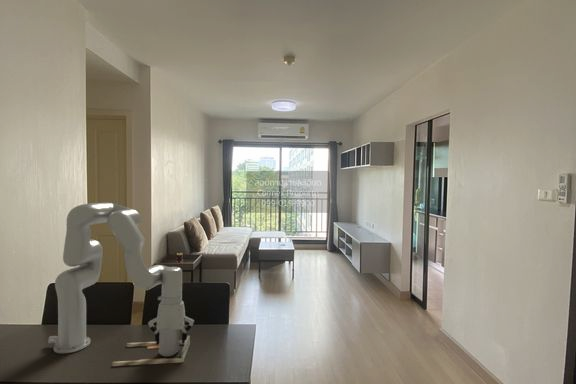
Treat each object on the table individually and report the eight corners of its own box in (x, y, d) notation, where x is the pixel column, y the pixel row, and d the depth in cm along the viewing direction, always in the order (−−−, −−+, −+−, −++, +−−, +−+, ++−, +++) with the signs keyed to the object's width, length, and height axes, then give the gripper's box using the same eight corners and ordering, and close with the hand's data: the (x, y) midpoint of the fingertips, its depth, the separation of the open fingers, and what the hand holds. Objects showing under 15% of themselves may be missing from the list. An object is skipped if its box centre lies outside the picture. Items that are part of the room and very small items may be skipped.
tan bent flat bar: (112, 366, 118) (112, 356, 118) (127, 345, 133) (127, 337, 133) (183, 362, 121) (183, 353, 121) (190, 343, 136) (190, 334, 136)
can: (181, 348, 132) (182, 319, 131) (174, 358, 124) (175, 327, 124) (163, 347, 132) (164, 318, 132) (155, 357, 124) (155, 326, 124)
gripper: (145, 303, 123) (145, 347, 123) (192, 302, 125) (191, 346, 125) (151, 296, 130) (151, 338, 131) (195, 295, 132) (195, 337, 133)
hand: (171, 342), depth 128 cm, fingers open, 9 cm apart
